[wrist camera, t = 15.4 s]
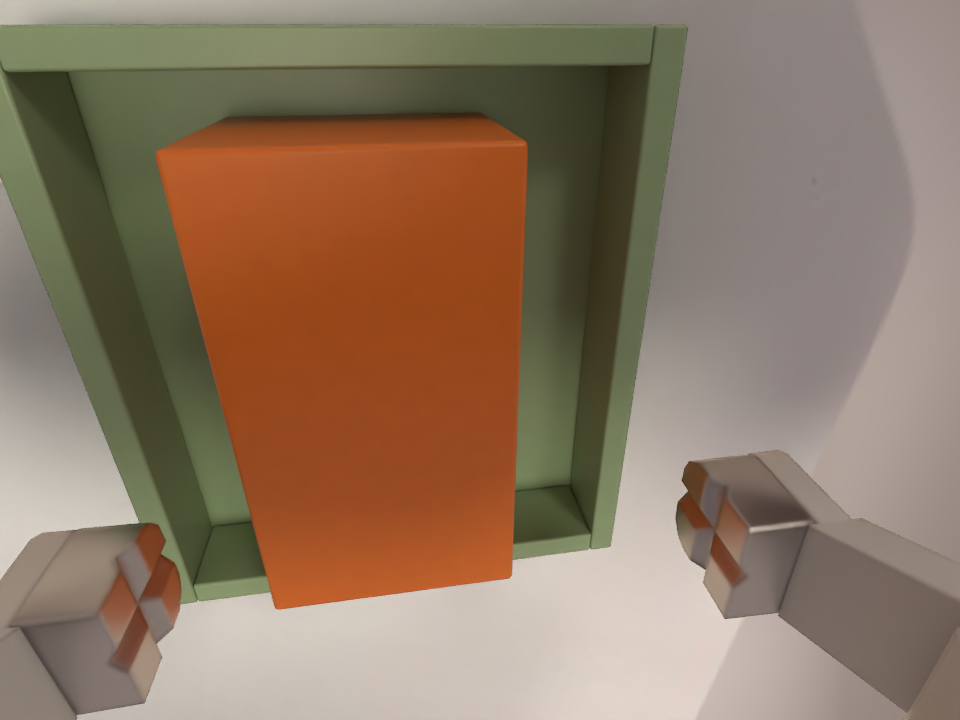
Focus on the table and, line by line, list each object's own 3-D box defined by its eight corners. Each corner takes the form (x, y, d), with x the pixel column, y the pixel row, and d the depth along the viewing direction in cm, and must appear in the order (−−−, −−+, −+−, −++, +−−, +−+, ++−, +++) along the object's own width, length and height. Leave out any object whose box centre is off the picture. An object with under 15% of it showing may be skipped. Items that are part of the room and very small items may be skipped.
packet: (483, 112, 11) (529, 140, 8) (482, 463, 16) (513, 579, 12) (222, 116, 11) (150, 149, 7) (297, 482, 15) (274, 612, 12)
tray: (629, 28, 12) (690, 24, 9) (581, 483, 18) (611, 547, 15) (33, 29, 10) (-63, 24, 8) (199, 528, 16) (171, 606, 14)
